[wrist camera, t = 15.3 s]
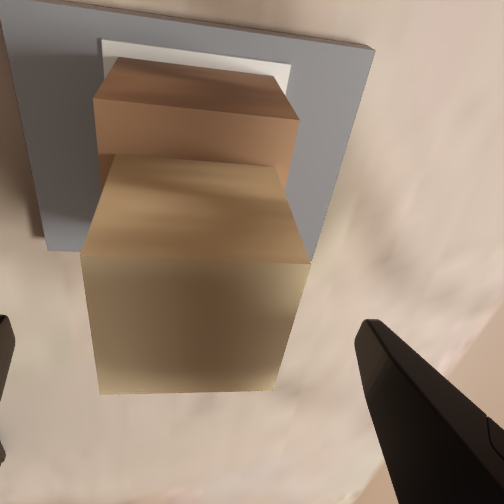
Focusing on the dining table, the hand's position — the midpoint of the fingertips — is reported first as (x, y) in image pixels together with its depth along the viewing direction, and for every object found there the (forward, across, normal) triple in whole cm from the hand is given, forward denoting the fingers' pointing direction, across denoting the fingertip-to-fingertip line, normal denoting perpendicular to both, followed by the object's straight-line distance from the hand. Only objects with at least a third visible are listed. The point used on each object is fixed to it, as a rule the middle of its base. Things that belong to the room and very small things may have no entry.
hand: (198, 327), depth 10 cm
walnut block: (+10, 0, 0) cm, 10 cm away
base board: (+11, 0, 0) cm, 11 cm away
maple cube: (+5, 0, 0) cm, 5 cm away
